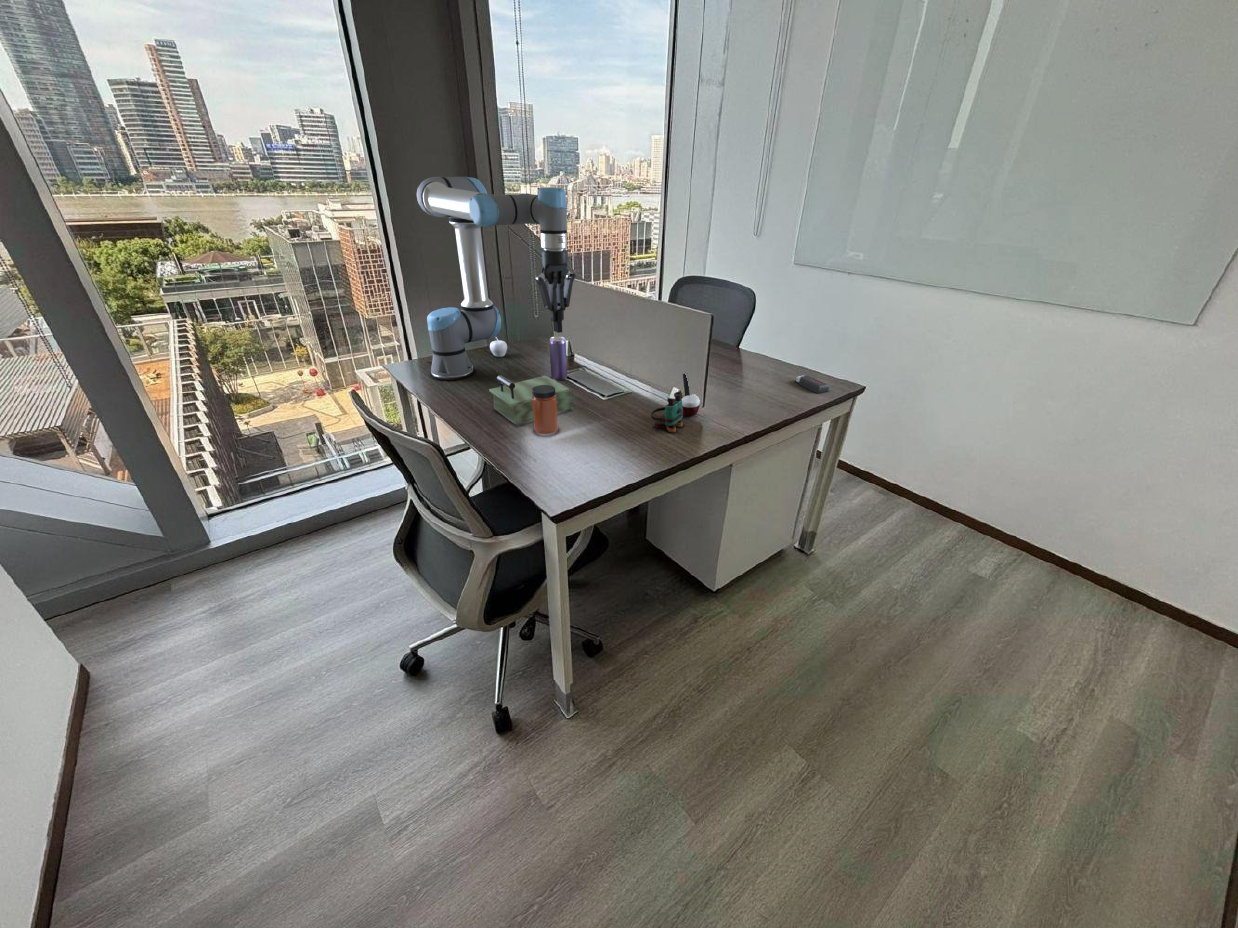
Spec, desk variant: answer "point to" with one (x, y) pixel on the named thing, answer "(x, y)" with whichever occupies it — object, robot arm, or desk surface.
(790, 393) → the desk surface
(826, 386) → the usb drive
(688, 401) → the rice bowl with chopsticks
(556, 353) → the beverage can
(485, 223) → the robot arm
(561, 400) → the chest
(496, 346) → the plain white apple
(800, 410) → the desk surface
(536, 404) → the jar
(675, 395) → the binoculars
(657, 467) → the desk surface
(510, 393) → the lid
